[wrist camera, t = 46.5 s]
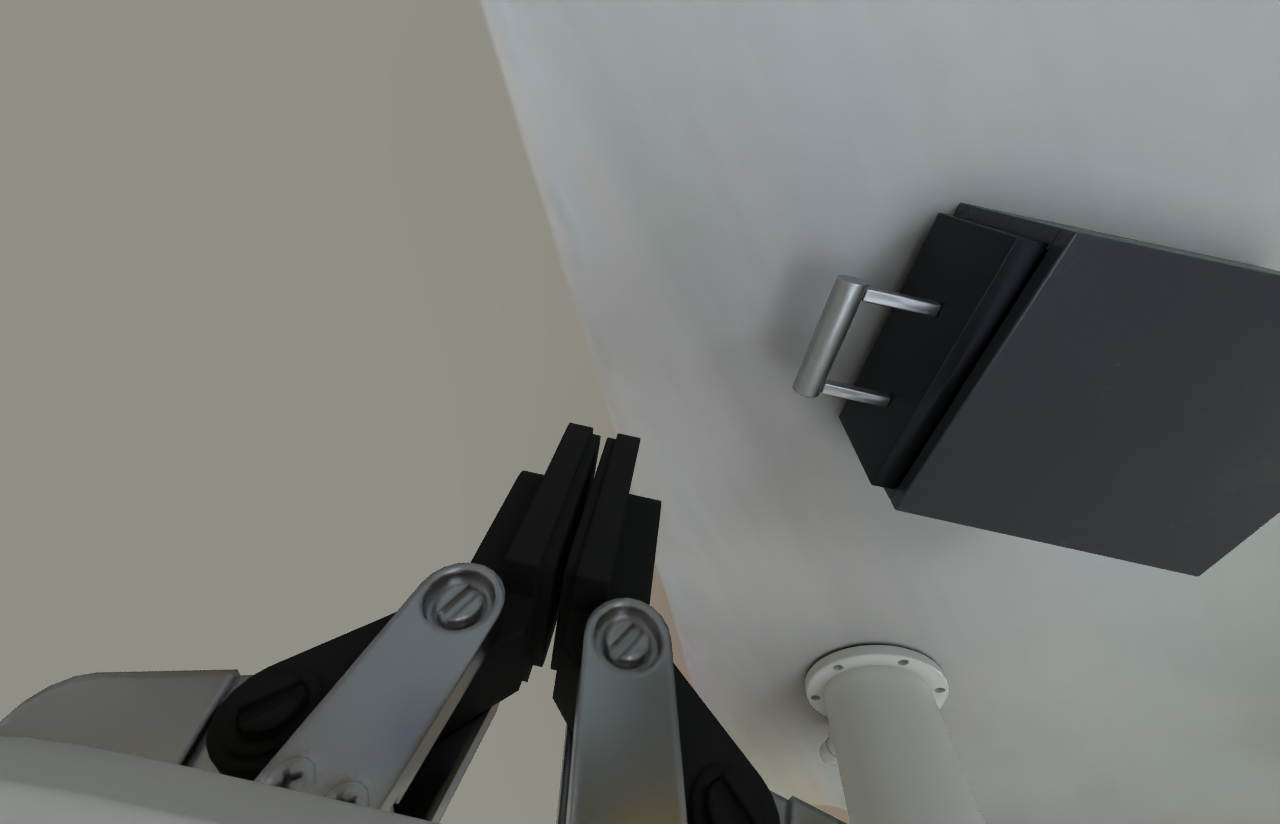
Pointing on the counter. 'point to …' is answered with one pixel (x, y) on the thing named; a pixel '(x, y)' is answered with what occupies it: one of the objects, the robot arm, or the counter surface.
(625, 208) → the counter surface
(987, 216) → the dark gray drawer box
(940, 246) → the drawer
